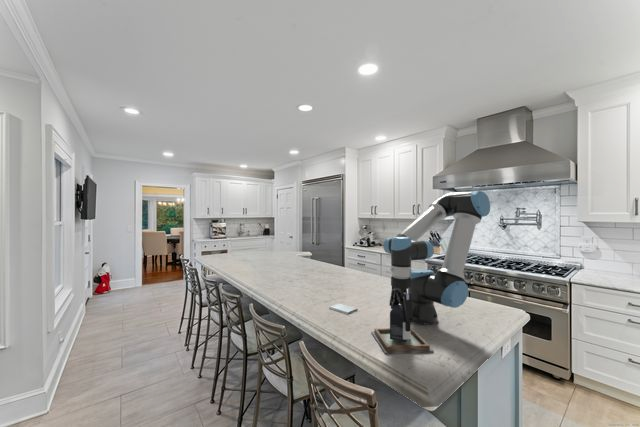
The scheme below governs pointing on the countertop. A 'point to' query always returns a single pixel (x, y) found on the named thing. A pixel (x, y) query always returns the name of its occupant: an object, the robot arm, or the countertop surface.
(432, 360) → the countertop surface
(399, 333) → the small box
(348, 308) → the hard drive
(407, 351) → the wooden picture frame
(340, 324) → the countertop surface
